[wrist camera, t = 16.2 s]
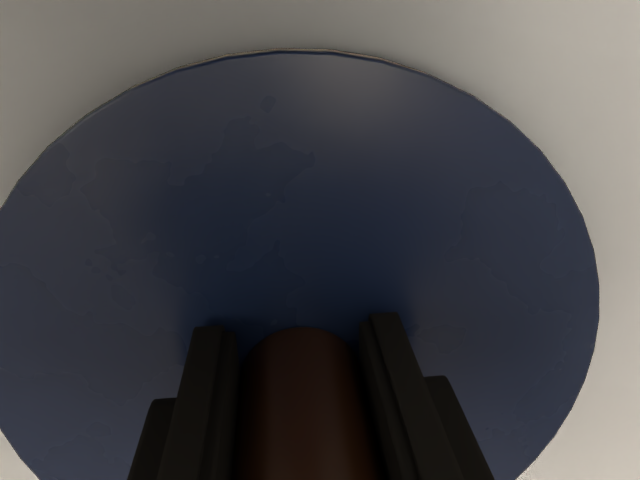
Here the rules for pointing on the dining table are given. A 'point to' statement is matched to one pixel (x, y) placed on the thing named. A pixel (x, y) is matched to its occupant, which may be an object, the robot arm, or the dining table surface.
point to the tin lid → (289, 265)
